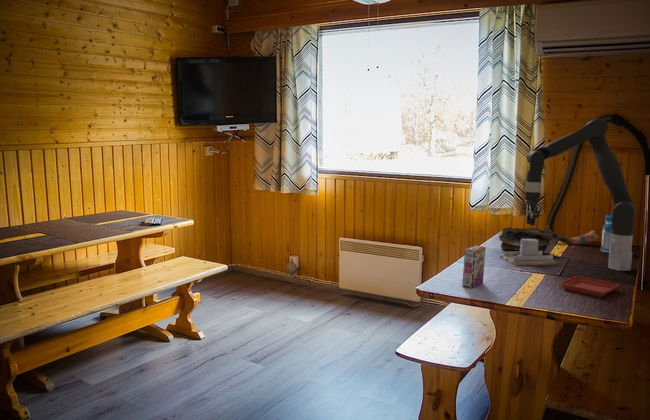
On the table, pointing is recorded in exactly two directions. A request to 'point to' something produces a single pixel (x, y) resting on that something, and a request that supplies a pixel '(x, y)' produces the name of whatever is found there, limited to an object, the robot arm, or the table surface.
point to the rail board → (528, 262)
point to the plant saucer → (589, 286)
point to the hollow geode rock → (514, 236)
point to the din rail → (540, 257)
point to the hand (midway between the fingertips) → (530, 224)
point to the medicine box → (529, 247)
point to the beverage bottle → (606, 234)
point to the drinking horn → (576, 238)
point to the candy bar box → (473, 266)
